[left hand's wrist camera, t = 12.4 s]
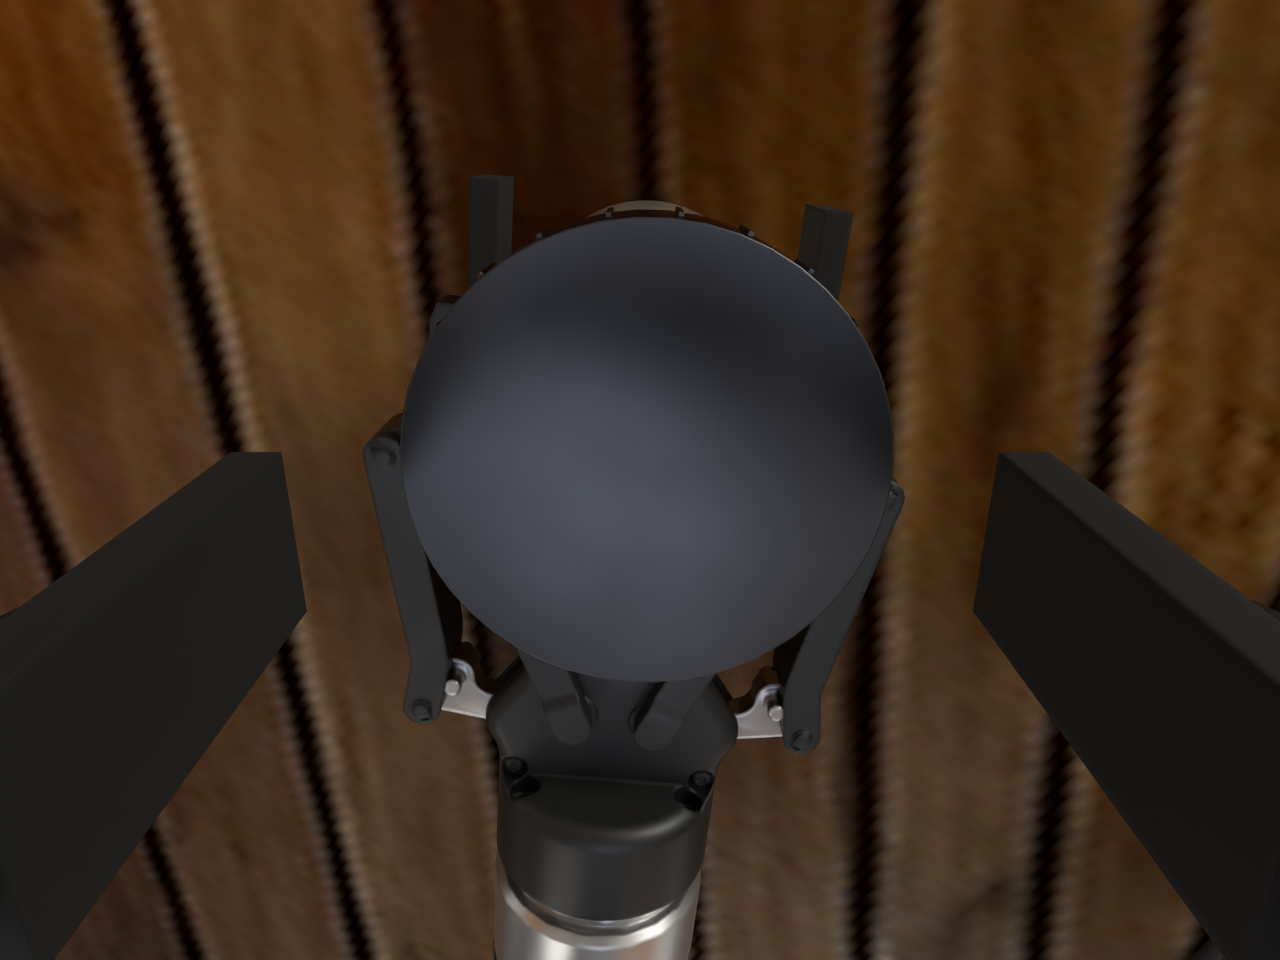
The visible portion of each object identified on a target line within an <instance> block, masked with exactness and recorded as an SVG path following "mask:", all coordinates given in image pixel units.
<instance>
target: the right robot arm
mask: <svg viewBox="0 0 1280 960" xmlns="http://www.w3.org/2000/svg"><path fill="white" fill-rule="evenodd" d="M513 188H514V177H510V176H499V175H489V174H486V175H478V176H470V177H469V215H468V277H467V290H468V289H469V287H470V286H471V285H472V284H473V283H474V282H475V281H476V280H478V279H479V278H478V277H477V274H478V273H479V272H480V271H482V270H483V269H484V268H486V267H487V266H489V265H490V264H491V263H493V262H495V263H496V264H498V263H499V262H501V261H502V260H503V259H504V258H506V257H507V256H509V255H510V254H511V248H512V218H513ZM852 217H853V212H849V211H845V210H842V209H838V208H834V207H828V206H818V205H807V204H806V205H805V212H804V219H803V225H802V232H801V238H800V245H799V252H798V258H797V260H799V261H800V262H802V263H803V264H805V265H806V266H808V267H809V268H811V269H812V270H813V271H814V273H813V275H812V276H813V277H814V278H815V279H816V280H817V281H818V282H820V283H821V284H822V285H823V286H824V287H825V288H826V289H827V290H828V291H829V292H830V293H831V294H832V295H833V296H834V298H835V299H836V300H837V301H838V299H839V293H840V288H841V282H842V276H843V270H844V264H845V258H846V252H847V247H848V241H849V235H850V229H851V223H852ZM460 297H461V296H455V295H447V296H445V297H444V298H443V299H441V300H440V301H438V302H437V303H436V306H435V308H434V311H433V313H432V315H431V318H430V320H429V339H430V337H431V335H432V333H433V332H434V329H433V327H434V326H435V324H436V323H438V322H439V321H440V320H441V319H442V318H444V316H445V315H446V314H447V312H448V311H449V309H450V308H451V307H452V305H453V304H454V303H455V302H456V301H457V300H458V299H459V298H460ZM402 416H403V413H400V414H397V415H395V416H393V417H392V418H391V419H390V420H389V421H388V422H387V423H386V424H385V425H384V426H383V427H382V428H381V429H380V430H379V431H378V432H377V433H376V434H375V435H374V436H373V437H372V439H371V440H370V441H369V442H368V443H367V444H366V446H365V448H364V450H363V460H364V464H365V468H366V472H367V477H368V481H369V485H370V489H371V494H372V498H373V502H374V506H375V511H376V515H377V519H378V523H379V528H380V532H381V536H382V540H383V545H384V549H385V553H386V558H387V562H388V566H389V570H390V575H391V579H392V583H393V587H394V592H395V596H396V600H397V604H398V609H399V613H400V617H401V621H402V626H403V630H404V634H405V638H406V643H407V647H408V651H409V655H410V660H411V665H410V671H409V677H408V682H407V688H406V694H405V699H404V705H403V706H404V713H405V714H406V716H407V717H408V718H409V719H410V720H411V721H413V722H415V723H418V724H429V723H432V722H434V721H435V720H436V719H437V718H438V716H439V714H440V712H441V710H446V711H451V712H455V713H460V714H465V715H470V716H475V717H480V718H484V719H486V723H487V726H488V728H489V730H490V732H491V734H492V735H493V737H494V738H495V740H496V742H497V745H498V748H499V752H500V767H499V793H498V820H497V846H498V853H497V858H496V868H495V915H494V941H493V946H494V960H688V956H689V951H690V947H691V941H692V934H693V928H694V922H695V915H696V909H697V902H698V896H699V889H700V879H701V865H702V862H703V859H704V852H705V846H706V839H707V832H708V826H709V819H710V812H711V806H712V799H713V793H714V786H715V779H716V773H717V769H718V767H719V764H720V763H721V761H722V759H723V758H724V757H725V755H726V754H727V753H728V752H729V751H730V750H731V749H732V747H733V746H734V744H735V742H736V740H737V739H741V738H761V737H780V736H782V737H783V741H784V745H785V746H786V748H787V749H788V750H789V751H791V752H793V753H799V754H803V753H808V752H810V751H812V750H813V749H815V748H816V746H817V745H818V744H819V740H820V698H821V693H822V690H823V688H824V686H825V683H826V681H827V679H828V677H829V674H830V672H831V670H832V667H833V665H834V663H835V660H836V658H837V656H838V654H839V651H840V649H841V647H842V644H843V642H844V640H845V637H846V635H847V633H848V631H849V628H850V626H851V624H852V621H853V619H854V617H855V614H856V612H857V610H858V608H859V605H860V603H861V601H862V598H863V596H864V594H865V592H866V589H867V587H868V585H869V582H870V580H871V578H872V575H873V573H874V571H875V569H876V566H877V564H878V562H879V559H880V557H881V555H882V552H883V550H884V548H885V546H886V543H887V541H888V539H889V536H890V534H891V532H892V529H893V527H894V525H895V523H896V520H897V518H898V516H899V513H900V511H901V509H902V506H903V503H904V499H905V496H904V492H903V490H902V488H901V487H900V486H899V484H898V483H897V482H896V480H895V479H894V478H893V476H892V480H891V487H890V494H889V497H888V501H887V504H886V508H885V512H884V515H883V519H882V522H881V525H880V527H879V529H878V532H877V534H876V536H875V539H874V541H873V543H872V546H871V548H870V550H869V552H868V554H867V555H866V557H865V559H864V560H863V562H862V564H861V565H860V567H859V569H858V570H857V572H856V574H855V575H854V577H853V578H852V579H851V581H850V582H849V583H848V584H847V586H846V587H845V588H844V590H843V591H842V592H841V593H840V595H839V596H838V597H837V599H836V600H835V601H834V602H833V603H832V604H831V605H830V606H829V607H828V608H827V609H826V610H825V611H824V612H823V613H822V614H821V615H820V616H819V617H818V618H817V619H815V620H814V621H813V622H812V623H810V624H809V625H808V626H806V627H805V628H804V629H803V630H801V631H800V632H799V633H798V634H796V635H795V636H794V637H792V638H791V639H789V640H787V641H786V642H784V643H782V644H781V645H779V646H777V647H776V648H775V649H774V655H773V667H771V666H765V667H762V668H761V669H760V670H759V674H758V675H757V676H756V677H755V678H754V680H753V683H752V687H751V689H750V690H749V692H748V693H747V694H745V695H744V696H742V697H740V698H734V699H733V698H732V696H731V695H730V693H729V692H728V690H727V689H726V687H725V686H724V684H723V683H722V681H721V680H720V678H719V677H718V675H717V673H714V674H709V675H704V676H699V677H695V678H690V679H685V680H674V681H663V682H626V681H619V680H611V679H604V678H597V677H593V676H589V675H585V674H581V673H577V672H573V671H569V670H566V669H564V668H561V667H558V666H556V665H553V664H550V663H548V662H545V661H542V660H540V659H538V658H536V657H534V656H532V655H530V654H528V653H527V652H525V651H523V650H521V649H519V648H517V647H515V648H516V650H517V652H518V654H519V656H518V657H517V658H516V659H515V660H514V661H513V662H512V663H511V664H510V665H509V666H508V667H507V669H506V670H505V671H504V672H503V673H502V674H501V675H500V676H499V677H498V678H497V679H493V678H490V677H488V676H487V675H485V674H484V673H483V671H482V670H481V668H480V663H479V657H478V654H477V653H476V652H475V651H474V646H473V645H472V644H471V643H469V642H461V640H462V632H463V619H462V611H461V605H460V601H459V600H458V599H457V597H456V596H455V595H454V594H453V593H452V592H451V591H450V590H449V588H448V587H447V585H446V584H445V583H444V581H443V580H442V578H441V577H440V575H439V574H438V573H437V571H436V570H435V568H434V567H433V565H432V563H431V562H430V560H429V558H428V556H427V554H426V552H425V550H424V548H423V546H422V544H421V543H420V541H419V538H418V536H417V533H416V530H415V527H414V525H413V522H412V519H411V517H410V514H409V511H408V506H407V502H406V497H405V493H404V489H403V484H402V475H401V463H400V437H401V421H402Z"/></svg>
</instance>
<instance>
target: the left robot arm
mask: <svg viewBox="0 0 1280 960" xmlns="http://www.w3.org/2000/svg"><path fill="white" fill-rule="evenodd" d="M306 612H307V609H306V603H305V597H304V591H303V584H302V578H301V572H300V566H299V559H298V553H297V547H296V541H295V535H294V528H293V522H292V516H291V510H290V504H289V497H288V491H287V485H286V479H285V472H284V466H283V460H282V454H281V452H231V453H229V454H228V455H227V456H225V457H224V458H222V459H221V460H220V461H218V462H217V463H216V464H214V465H213V466H212V467H210V468H209V469H207V470H206V471H205V472H203V473H202V474H201V475H199V476H198V477H197V478H195V479H194V480H193V481H191V482H190V483H188V484H187V485H186V486H184V487H183V488H182V489H180V490H179V491H178V492H176V493H175V494H173V495H172V496H171V497H169V498H168V499H167V500H165V501H164V502H163V503H161V504H160V505H158V506H157V507H156V508H154V509H153V510H152V511H150V512H149V513H148V514H146V515H145V516H144V517H142V518H141V519H139V520H138V521H137V522H135V523H134V524H133V525H131V526H130V527H129V528H127V529H126V530H124V531H123V532H122V533H120V534H119V535H118V536H116V537H115V538H114V539H112V540H111V541H109V542H108V543H107V544H105V545H104V546H103V547H101V548H100V549H99V550H97V551H96V552H94V553H93V554H92V555H90V556H89V557H88V558H86V559H85V560H84V561H82V562H81V563H80V564H78V565H77V566H75V567H74V568H73V569H71V570H70V571H69V572H67V573H66V574H65V575H63V576H62V577H60V578H59V579H58V580H56V581H55V582H54V583H52V584H51V585H50V586H48V587H47V588H45V589H44V590H43V591H41V592H40V593H39V594H37V595H36V596H35V597H33V598H32V599H31V600H29V601H28V602H26V603H25V604H24V605H22V606H21V607H19V608H16V609H14V610H12V611H10V612H8V613H6V614H4V615H1V616H0V960H54V959H55V957H56V956H57V955H58V953H59V952H60V951H61V949H62V948H63V946H64V945H65V944H66V942H67V941H68V940H69V938H70V937H71V935H72V934H73V933H74V931H75V930H76V929H77V927H78V926H79V924H80V923H81V922H82V920H83V919H84V918H85V916H86V915H87V913H88V912H89V911H90V909H91V908H92V906H93V905H94V904H95V902H96V901H97V900H98V898H99V897H100V895H101V894H102V893H103V891H104V890H105V889H106V887H107V886H108V884H109V883H110V882H111V880H112V879H113V878H114V876H115V875H116V873H117V872H118V871H119V869H120V868H121V867H122V865H123V864H124V862H125V861H126V860H127V858H128V857H129V855H130V854H131V853H132V851H133V850H134V849H135V847H136V846H137V844H138V843H139V842H140V840H141V839H142V838H143V836H144V835H145V833H146V832H147V831H148V829H149V828H150V827H151V825H152V824H153V822H154V821H155V820H156V818H157V817H158V816H159V814H160V813H161V811H162V810H163V809H164V807H165V806H166V804H167V803H168V802H169V800H170V799H171V798H172V796H173V795H174V793H175V792H176V791H177V789H178V788H179V787H180V785H181V784H182V782H183V781H184V780H185V778H186V777H187V776H188V774H189V773H190V771H191V770H192V769H193V767H194V766H195V765H196V763H197V762H198V760H199V759H200V758H201V756H202V755H203V753H204V752H205V751H206V749H207V748H208V747H209V745H210V744H211V742H212V741H213V740H214V738H215V737H216V736H217V734H218V733H219V731H220V730H221V729H222V727H223V726H224V725H225V723H226V722H227V720H228V719H229V718H230V716H231V715H232V714H233V712H234V711H235V709H236V708H237V707H238V705H239V704H240V702H241V701H242V700H243V698H244V697H245V696H246V694H247V693H248V691H249V690H250V689H251V687H252V686H253V685H254V683H255V682H256V680H257V679H258V678H259V676H260V675H261V674H262V672H263V671H264V669H265V668H266V667H267V665H268V664H269V663H270V661H271V660H272V658H273V657H274V656H275V654H276V653H277V651H278V650H279V649H280V647H281V646H282V645H283V643H284V642H285V640H286V639H287V638H288V636H289V635H290V634H291V632H292V631H293V629H294V628H295V627H296V625H297V624H298V623H299V621H300V620H301V618H302V617H303V616H304V614H305V613H306ZM973 612H974V613H975V614H976V616H977V617H978V618H979V620H980V621H981V623H982V624H983V625H984V627H985V628H986V629H987V631H988V632H989V634H990V635H991V636H992V638H993V639H994V640H995V642H996V643H997V645H998V646H999V647H1000V649H1001V650H1002V651H1003V653H1004V654H1005V656H1006V657H1007V658H1008V660H1009V661H1010V663H1011V664H1012V665H1013V667H1014V668H1015V669H1016V671H1017V672H1018V674H1019V675H1020V676H1021V678H1022V679H1023V680H1024V682H1025V683H1026V685H1027V686H1028V687H1029V689H1030V690H1031V691H1032V693H1033V694H1034V696H1035V697H1036V698H1037V700H1038V701H1039V702H1040V704H1041V705H1042V707H1043V708H1044V709H1045V711H1046V712H1047V714H1048V715H1049V716H1050V718H1051V719H1052V720H1053V722H1054V723H1055V725H1056V726H1057V727H1058V729H1059V730H1060V731H1061V733H1062V734H1063V736H1064V737H1065V738H1066V740H1067V741H1068V742H1069V744H1070V745H1071V747H1072V748H1073V749H1074V751H1075V752H1076V753H1077V755H1078V756H1079V758H1080V759H1081V760H1082V762H1083V763H1084V765H1085V766H1086V767H1087V769H1088V770H1089V771H1090V773H1091V774H1092V776H1093V777H1094V778H1095V780H1096V781H1097V782H1098V784H1099V785H1100V787H1101V788H1102V789H1103V791H1104V792H1105V793H1106V795H1107V796H1108V798H1109V799H1110V800H1111V802H1112V803H1113V804H1114V806H1115V807H1116V809H1117V810H1118V811H1119V813H1120V814H1121V816H1122V817H1123V818H1124V820H1125V821H1126V822H1127V824H1128V825H1129V827H1130V828H1131V829H1132V831H1133V832H1134V833H1135V835H1136V836H1137V838H1138V839H1139V840H1140V842H1141V843H1142V844H1143V846H1144V847H1145V849H1146V850H1147V851H1148V853H1149V854H1150V855H1151V857H1152V858H1153V860H1154V861H1155V862H1156V864H1157V865H1158V867H1159V868H1160V869H1161V871H1162V872H1163V873H1164V875H1165V876H1166V878H1167V879H1168V880H1169V882H1170V883H1171V884H1172V886H1173V887H1174V889H1175V890H1176V891H1177V893H1178V894H1179V895H1180V897H1181V898H1182V900H1183V901H1184V902H1185V904H1186V905H1187V906H1188V908H1189V909H1190V911H1191V912H1192V913H1193V915H1194V916H1195V918H1196V919H1197V920H1198V922H1199V923H1200V924H1201V926H1202V927H1203V929H1204V930H1205V931H1206V933H1207V934H1208V935H1209V937H1210V938H1209V939H1208V940H1207V941H1206V942H1205V943H1204V944H1203V945H1202V946H1201V947H1200V948H1199V949H1198V951H1197V952H1196V953H1195V954H1194V955H1193V956H1192V957H1191V958H1190V960H1220V959H1221V958H1222V957H1223V956H1224V957H1225V959H1226V960H1280V600H1279V601H1278V603H1277V605H1276V606H1275V608H1274V610H1273V609H1271V608H1269V607H1267V606H1265V605H1262V604H1260V603H1258V602H1256V601H1251V600H1249V599H1248V598H1247V597H1245V596H1244V595H1243V594H1241V593H1240V592H1239V591H1237V590H1236V589H1235V588H1233V587H1232V586H1230V585H1229V584H1228V583H1226V582H1225V581H1224V580H1222V579H1221V578H1220V577H1218V576H1217V575H1215V574H1214V573H1213V572H1211V571H1210V570H1209V569H1207V568H1206V567H1205V566H1203V565H1202V564H1200V563H1199V562H1198V561H1196V560H1195V559H1194V558H1192V557H1191V556H1190V555H1188V554H1187V553H1186V552H1184V551H1183V550H1181V549H1180V548H1179V547H1177V546H1176V545H1175V544H1173V543H1172V542H1171V541H1169V540H1168V539H1166V538H1165V537H1164V536H1162V535H1161V534H1160V533H1158V532H1157V531H1156V530H1154V529H1153V528H1151V527H1150V526H1149V525H1147V524H1146V523H1145V522H1143V521H1142V520H1141V519H1139V518H1138V517H1136V516H1135V515H1134V514H1132V513H1131V512H1130V511H1128V510H1127V509H1126V508H1124V507H1123V506H1122V505H1120V504H1119V503H1117V502H1116V501H1115V500H1113V499H1112V498H1111V497H1109V496H1108V495H1107V494H1105V493H1104V492H1102V491H1101V490H1100V489H1098V488H1097V487H1096V486H1094V485H1093V484H1092V483H1090V482H1089V481H1087V480H1086V479H1085V478H1083V477H1082V476H1081V475H1079V474H1078V473H1077V472H1075V471H1074V470H1073V469H1071V468H1070V467H1068V466H1067V465H1066V464H1064V463H1063V462H1062V461H1060V460H1059V459H1058V458H1056V457H1055V456H1053V455H1052V454H1051V453H1049V452H999V454H998V460H997V466H996V472H995V479H994V485H993V491H992V497H991V503H990V510H989V516H988V522H987V528H986V535H985V541H984V547H983V553H982V559H981V566H980V572H979V578H978V584H977V591H976V597H975V603H974V609H973Z"/></svg>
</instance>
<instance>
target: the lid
mask: <svg viewBox="0 0 1280 960" xmlns="http://www.w3.org/2000/svg"><path fill="white" fill-rule="evenodd" d="M754 234H755V233H754V232H753V231H751V230H750V229H748V228H747V227H745V226H743V225H741V224H740V226H739V229H738V228H736V227H734V226H732V225H730V224H727V223H723V222H720V221H717V220H714V219H710V218H707V217H704V216H701V215H695V214H689V213H685V212H684V211H683V209H682V208H681V207H676V208H675V211H671V210H644V209H635V210H626V211H617V212H614V207H611V208H608V209H607V211H606V212H605V213H603V214H599V215H595V216H591V217H587V218H583V219H579V220H575V221H572V222H570V223H568V224H565V225H563V226H560V227H558V228H555V229H553V230H551V229H550V227H549V226H548V227H546V228H544V229H543V230H542V231H540V232H539V233H537V234H536V235H535V236H536V238H535V239H533V240H532V241H530V242H528V243H527V244H525V245H523V246H521V247H520V248H518V249H517V250H515V251H514V252H513V253H511V254H510V255H509V256H507V257H506V258H504V259H503V260H502V261H501V262H499V263H498V264H496V263H495V262H493V263H491V264H490V265H489V266H487V267H486V268H484V269H483V270H482V271H480V272H479V273H478V274H477V277H478V278H479V279H478V280H476V281H475V282H474V283H473V284H472V285H471V286H470V287H469V289H468V290H467V291H466V292H465V293H464V294H463V295H462V296H461V297H460V298H459V299H458V300H457V301H456V302H455V303H454V304H453V305H452V307H451V308H450V309H449V311H448V312H447V314H446V315H445V316H444V318H442V319H441V320H440V321H439V322H438V323H436V324H435V326H434V327H433V329H434V332H433V333H432V335H431V337H430V339H429V341H428V343H427V345H426V347H425V349H424V351H423V352H422V354H421V356H420V358H419V360H418V363H417V365H416V368H415V371H414V374H413V377H412V380H411V382H410V385H409V387H408V391H407V396H406V401H405V406H404V411H403V416H402V421H401V437H400V463H401V475H402V484H403V489H404V493H405V497H406V502H407V506H408V511H409V514H410V517H411V519H412V522H413V525H414V527H415V530H416V533H417V536H418V538H419V541H420V543H421V544H422V546H423V548H424V550H425V552H426V554H427V556H428V558H429V560H430V562H431V563H432V565H433V567H434V568H435V570H436V571H437V573H438V574H439V575H440V577H441V578H442V580H443V581H444V583H445V584H446V585H447V587H448V588H449V590H450V591H451V592H452V593H453V594H454V595H455V596H456V597H457V599H458V600H459V601H460V602H461V603H462V604H463V605H464V606H465V607H466V608H467V610H468V611H469V612H470V613H472V614H473V615H474V616H475V617H476V618H477V619H479V620H480V621H481V622H482V623H483V624H484V625H485V626H487V627H488V628H489V629H490V630H491V631H493V632H494V633H496V634H497V635H499V636H500V637H502V638H503V639H505V640H506V641H508V642H509V643H511V644H512V645H514V646H515V647H517V648H519V649H521V650H523V651H525V652H527V653H528V654H530V655H532V656H534V657H536V658H538V659H540V660H542V661H545V662H548V663H550V664H553V665H556V666H558V667H561V668H564V669H566V670H569V671H573V672H577V673H581V674H585V675H589V676H593V677H597V678H604V679H611V680H619V681H626V682H663V681H674V680H685V679H690V678H695V677H699V676H704V675H709V674H714V673H717V672H720V671H723V670H726V669H729V668H732V667H735V666H738V665H741V664H744V663H746V662H748V661H750V660H752V659H754V658H757V657H759V656H761V655H763V654H765V653H768V652H769V651H771V650H773V649H774V648H776V647H777V646H779V645H781V644H782V643H784V642H786V641H787V640H789V639H791V638H792V637H794V636H795V635H796V634H798V633H799V632H800V631H801V630H803V629H804V628H805V627H806V626H808V625H809V624H810V623H812V622H813V621H814V620H815V619H817V618H818V617H819V616H820V615H821V614H822V613H823V612H824V611H825V610H826V609H827V608H828V607H829V606H830V605H831V604H832V603H833V602H834V601H835V600H836V599H837V597H838V596H839V595H840V593H841V592H842V591H843V590H844V588H845V587H846V586H847V584H848V583H849V582H850V581H851V579H852V578H853V577H854V575H855V574H856V572H857V570H858V569H859V567H860V565H861V564H862V562H863V560H864V559H865V557H866V555H867V554H868V552H869V550H870V548H871V546H872V543H873V541H874V539H875V536H876V534H877V532H878V529H879V527H880V525H881V522H882V519H883V515H884V512H885V508H886V504H887V501H888V497H889V494H890V487H891V480H892V472H893V465H894V432H893V425H892V418H891V411H890V404H889V400H888V396H887V393H886V389H885V384H884V381H883V379H882V376H881V372H880V370H879V368H878V365H877V363H876V361H875V359H874V357H873V354H872V352H871V350H870V348H869V346H868V344H867V342H866V340H865V338H864V337H863V335H862V334H861V332H860V331H859V329H858V328H857V326H858V325H859V324H858V322H857V321H856V320H855V319H854V318H852V317H851V316H850V315H849V314H848V313H847V311H846V310H845V309H844V308H843V307H842V306H841V305H840V303H839V302H838V301H837V300H836V299H835V298H834V296H833V295H832V294H831V293H830V292H829V291H828V290H827V289H826V288H825V287H824V286H823V285H822V284H821V283H820V282H818V281H817V280H816V279H815V278H814V277H813V276H812V275H813V273H814V271H813V270H812V269H811V268H809V267H808V266H806V265H805V264H803V263H802V262H800V261H799V260H797V259H796V260H795V261H792V260H791V259H790V258H788V257H787V256H785V255H784V254H782V253H781V252H779V251H778V250H776V249H775V248H773V247H772V246H770V245H769V244H767V243H765V242H764V241H762V240H761V239H759V238H758V237H756V236H754Z"/></svg>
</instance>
